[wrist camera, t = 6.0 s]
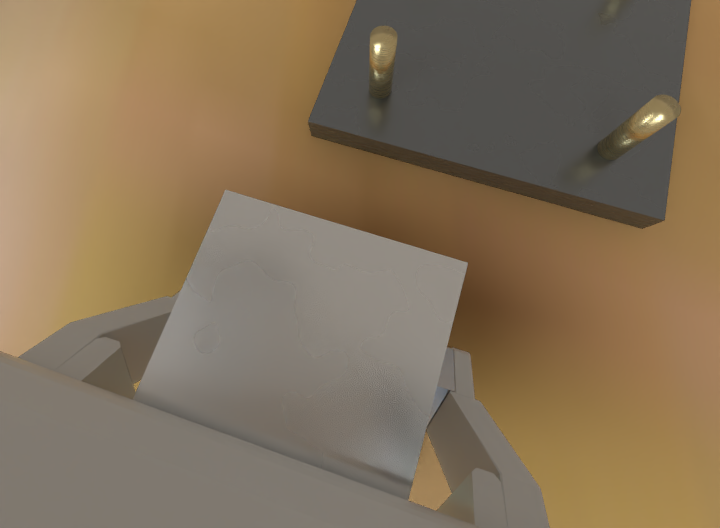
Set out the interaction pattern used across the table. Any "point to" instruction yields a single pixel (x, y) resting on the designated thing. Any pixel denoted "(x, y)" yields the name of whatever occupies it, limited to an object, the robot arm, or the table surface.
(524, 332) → the table surface
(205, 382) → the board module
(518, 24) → the mounting plate
